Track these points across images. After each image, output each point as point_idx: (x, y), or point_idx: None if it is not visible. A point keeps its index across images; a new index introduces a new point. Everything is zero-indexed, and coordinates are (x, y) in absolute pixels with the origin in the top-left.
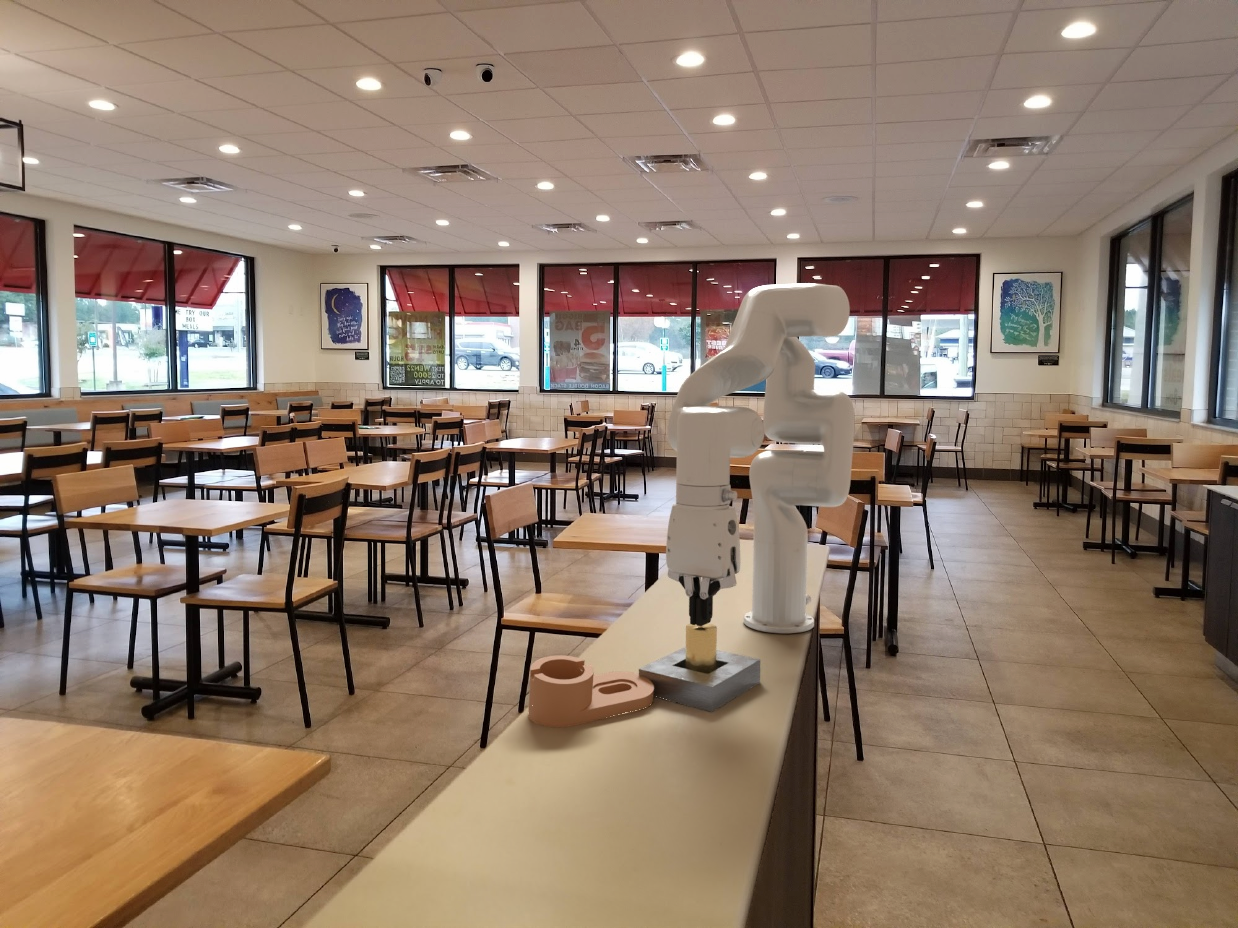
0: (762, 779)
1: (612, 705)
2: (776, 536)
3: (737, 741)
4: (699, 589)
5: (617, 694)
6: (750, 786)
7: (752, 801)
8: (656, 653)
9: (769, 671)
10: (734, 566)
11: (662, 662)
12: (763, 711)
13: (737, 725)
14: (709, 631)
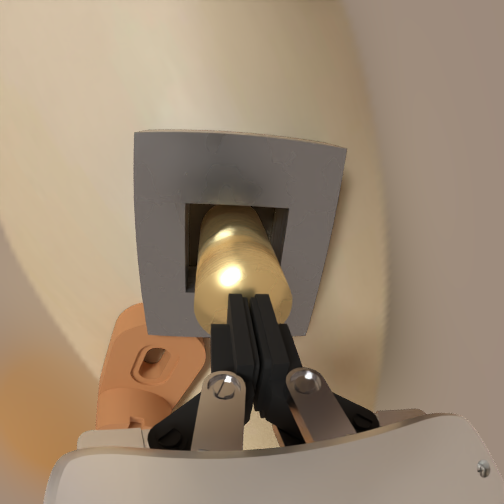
0: (375, 382)
1: (186, 389)
2: None
3: (346, 351)
4: (245, 407)
5: (171, 375)
6: (367, 393)
7: (369, 402)
8: (53, 109)
9: (319, 69)
10: (457, 436)
11: (158, 287)
12: (361, 265)
13: (338, 322)
14: (282, 323)
